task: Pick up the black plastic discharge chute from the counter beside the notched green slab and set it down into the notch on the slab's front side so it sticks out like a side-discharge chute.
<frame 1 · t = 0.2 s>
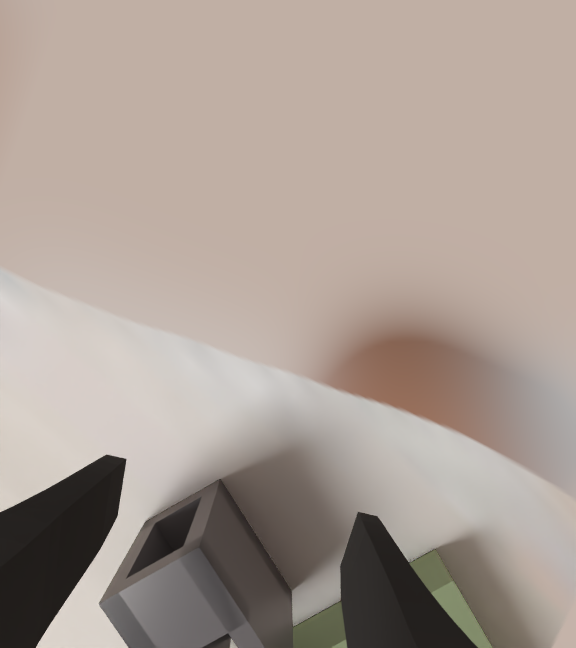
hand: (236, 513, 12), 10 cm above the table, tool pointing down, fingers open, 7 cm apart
chute: (219, 556, 23), on the table
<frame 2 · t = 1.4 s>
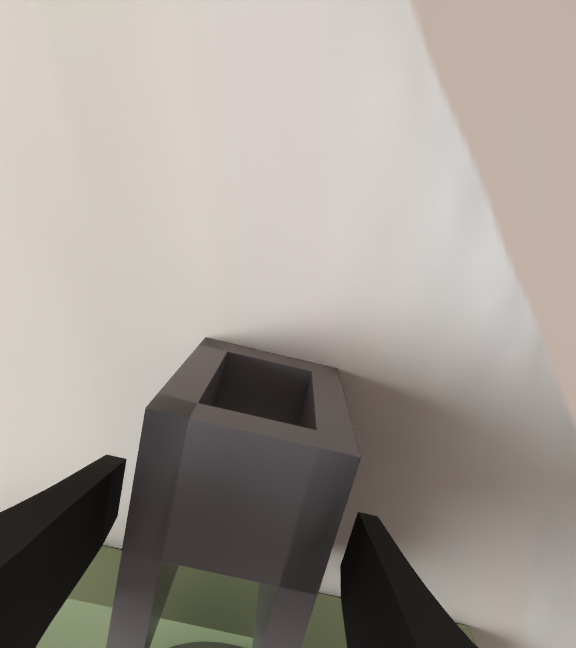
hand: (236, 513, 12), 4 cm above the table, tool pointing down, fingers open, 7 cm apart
chute: (249, 446, 16), on the table
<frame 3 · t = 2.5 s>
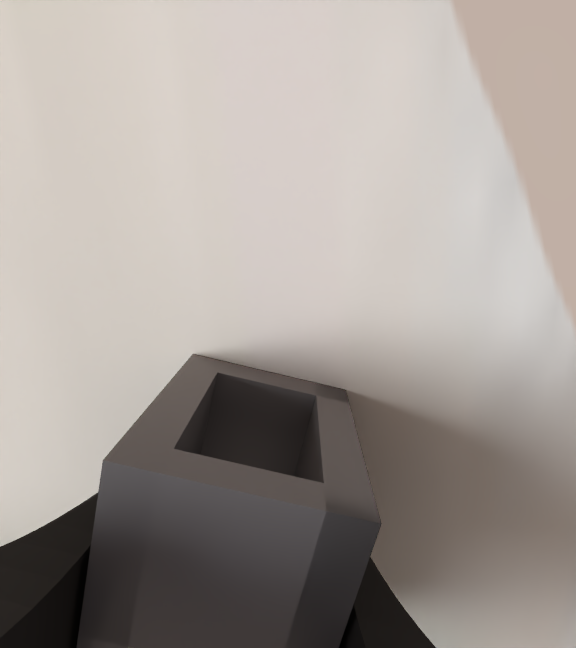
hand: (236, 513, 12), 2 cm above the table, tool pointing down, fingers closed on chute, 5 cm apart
chute: (243, 479, 14), on the table, touching gripper
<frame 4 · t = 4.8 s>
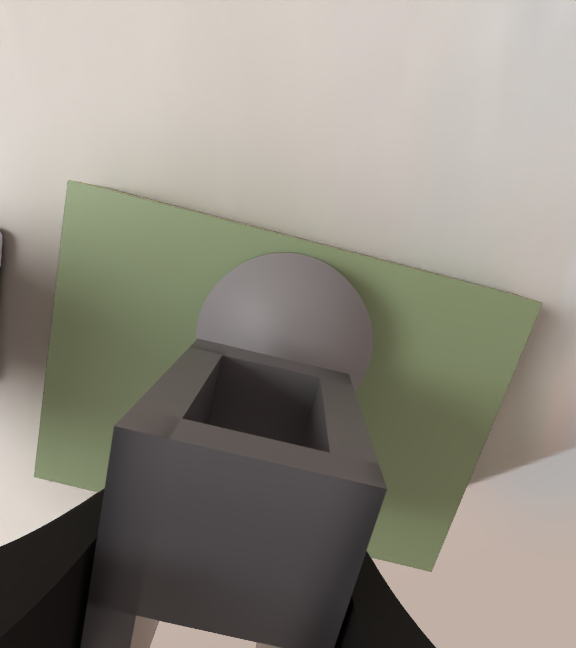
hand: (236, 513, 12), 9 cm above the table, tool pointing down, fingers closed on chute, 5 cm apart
chute: (247, 464, 14), point 7 cm above the table, touching gripper
notched green slab: (272, 376, 21), on the table
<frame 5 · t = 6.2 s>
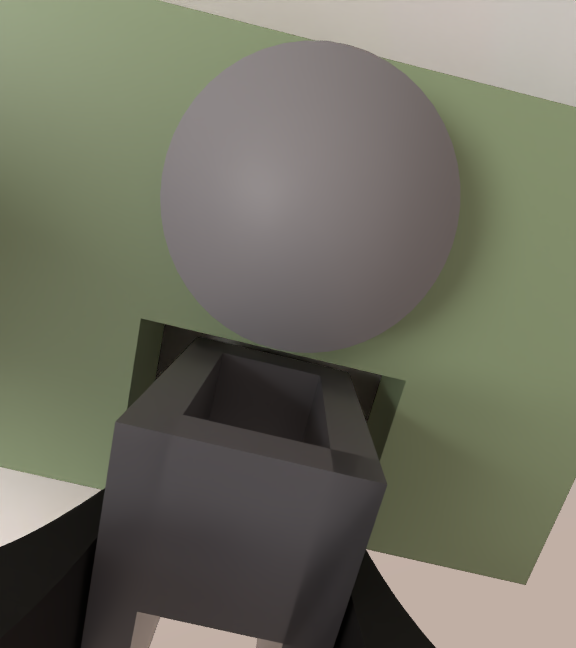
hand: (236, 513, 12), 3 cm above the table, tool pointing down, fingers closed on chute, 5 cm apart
chute: (247, 462, 14), point 1 cm above the table, touching gripper
notched green slab: (285, 301, 14), on the table
when the fingers open (3 cm above the table, at t = 7.2 s): chute drops 1 cm, on the table.
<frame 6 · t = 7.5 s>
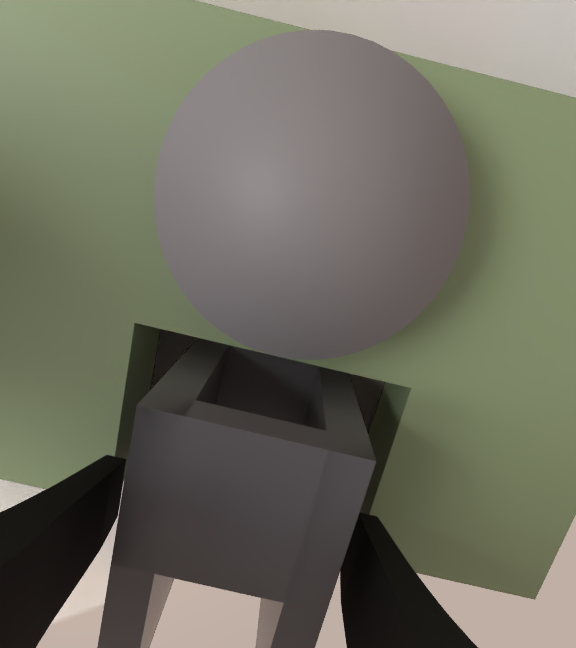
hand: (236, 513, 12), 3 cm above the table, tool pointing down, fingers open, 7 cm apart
chute: (251, 447, 15), on the table
notched green slab: (285, 304, 14), on the table
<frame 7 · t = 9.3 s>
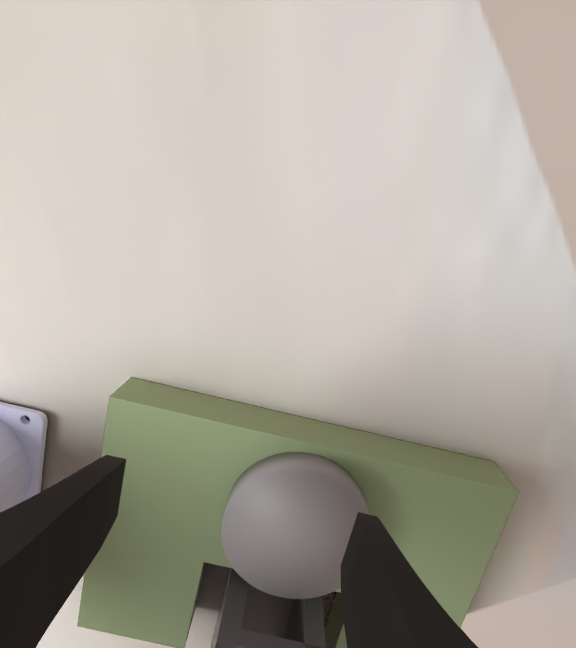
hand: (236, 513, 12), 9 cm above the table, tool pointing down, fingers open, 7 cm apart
chute: (264, 601, 25), on the table
notched green slab: (285, 528, 23), on the table
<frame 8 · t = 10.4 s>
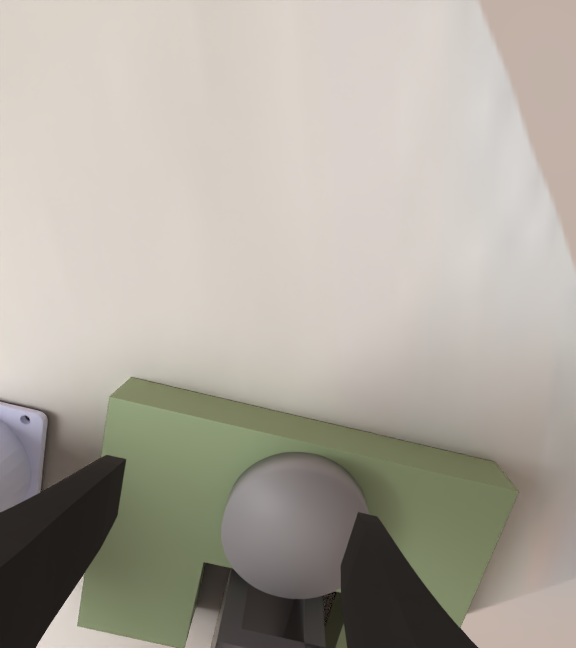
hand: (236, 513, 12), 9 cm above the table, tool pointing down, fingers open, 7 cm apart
chute: (264, 601, 25), on the table
notched green slab: (285, 528, 23), on the table
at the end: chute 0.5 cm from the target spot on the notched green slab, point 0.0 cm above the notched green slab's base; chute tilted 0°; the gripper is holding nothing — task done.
